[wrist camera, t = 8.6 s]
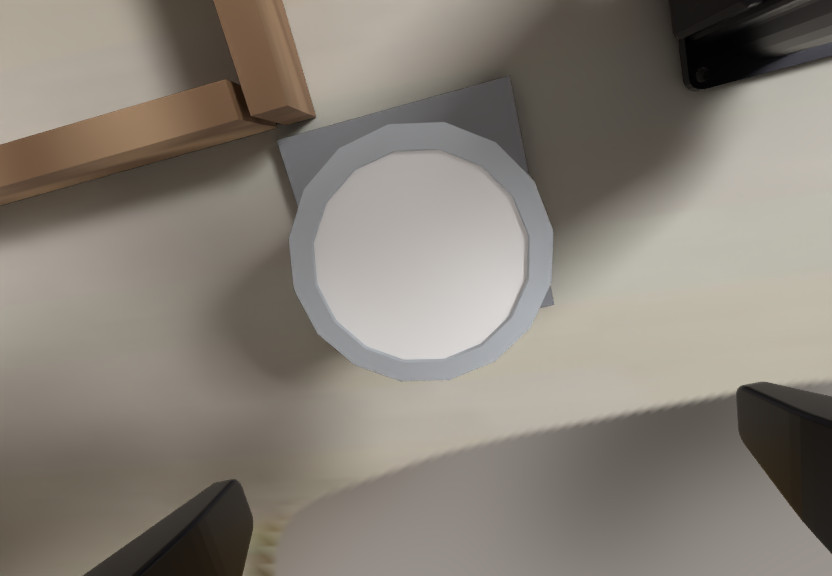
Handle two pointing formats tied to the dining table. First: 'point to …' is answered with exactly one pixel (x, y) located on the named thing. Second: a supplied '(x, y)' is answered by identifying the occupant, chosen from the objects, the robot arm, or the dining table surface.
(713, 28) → the robot arm
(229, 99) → the brown wooden u-shaped piece
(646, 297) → the dining table surface
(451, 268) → the white cup
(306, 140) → the coaster
